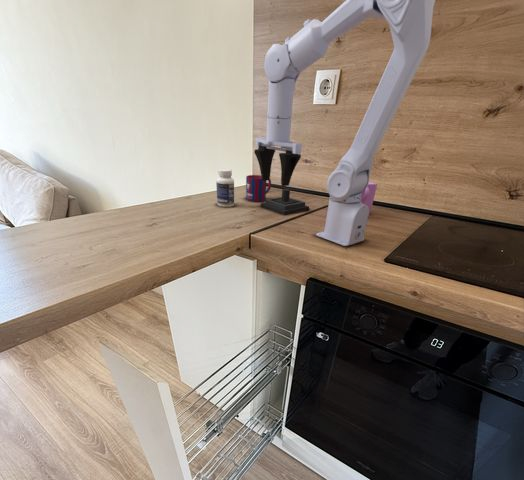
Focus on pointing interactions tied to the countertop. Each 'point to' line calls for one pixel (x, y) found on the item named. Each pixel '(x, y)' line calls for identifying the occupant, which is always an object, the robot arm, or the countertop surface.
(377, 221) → the countertop surface
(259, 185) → the mug
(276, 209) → the base pad
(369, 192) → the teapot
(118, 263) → the countertop surface
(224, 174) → the pill bottle
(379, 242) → the countertop surface
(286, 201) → the dark grey block
